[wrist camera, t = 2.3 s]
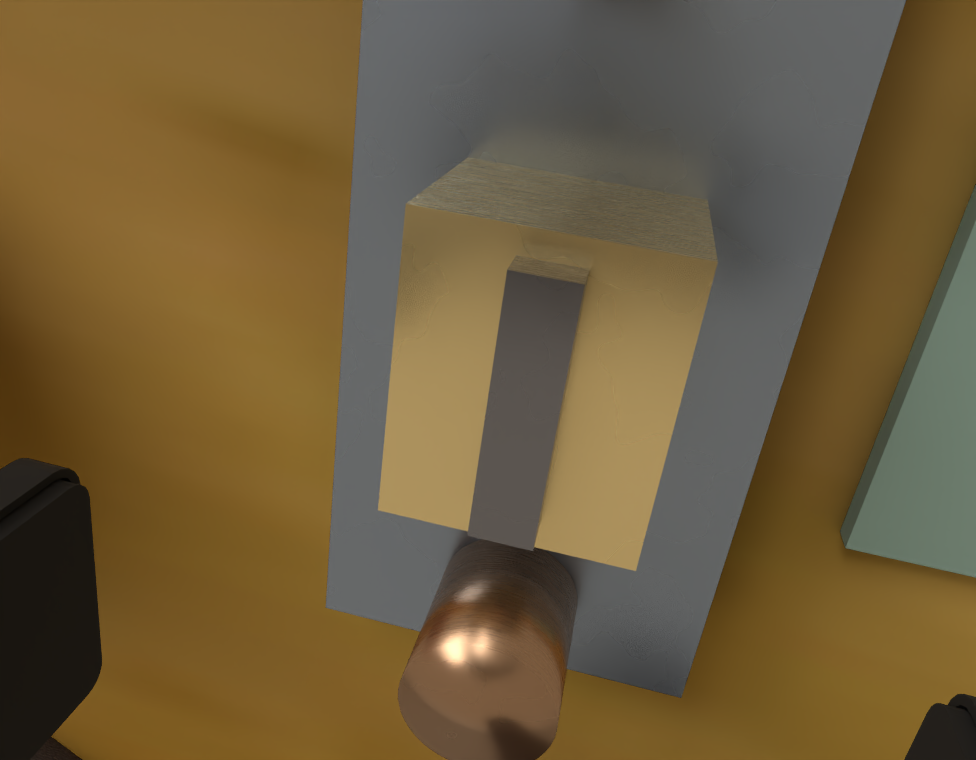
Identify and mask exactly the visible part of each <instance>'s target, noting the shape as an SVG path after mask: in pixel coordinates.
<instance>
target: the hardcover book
mask: <svg viewBox="0 0 976 760" xmlns="http://www.w3.org/2000/svg"><path fill="white" fill-rule="evenodd" d="M30 760H82V759H80V758H79V757H78V756H76V755H75V754H74V753H72V752H71V751H70V750H68V749H67V748H66V747H64V746H63V745H62V744H60V743H59V742H57V741H56V740H55V739H53V738H52V737H50V738H49V739H48V740H47V741H46V742H45V744H44V745H43V746H42V747H41V748H40V749H39V750H38V751H37V753H36V754H35V755H34V756H33V757H32V758H31V759H30Z"/></svg>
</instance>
